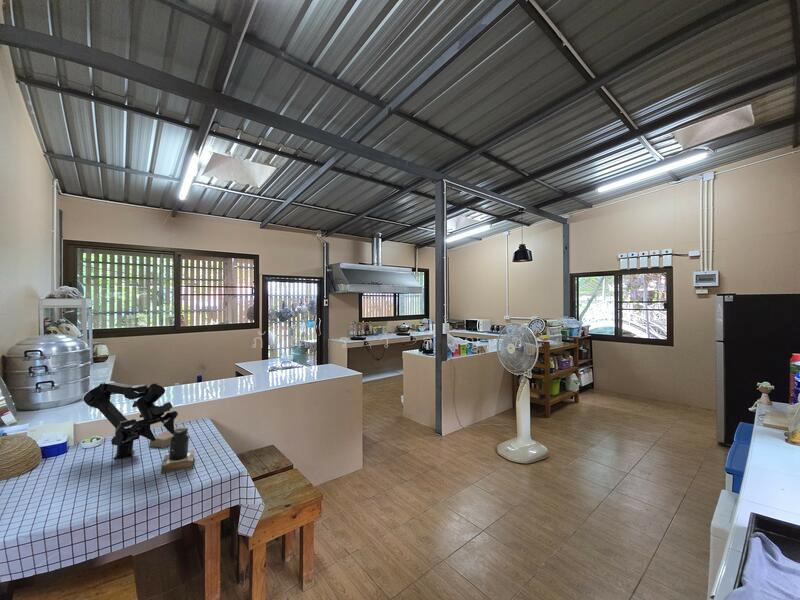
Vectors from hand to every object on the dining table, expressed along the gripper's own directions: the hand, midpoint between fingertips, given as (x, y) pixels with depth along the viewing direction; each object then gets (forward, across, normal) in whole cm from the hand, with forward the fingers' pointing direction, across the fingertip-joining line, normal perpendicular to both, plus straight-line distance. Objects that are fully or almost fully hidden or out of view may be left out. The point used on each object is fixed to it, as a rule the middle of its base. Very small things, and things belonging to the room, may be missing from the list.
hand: (164, 437), depth 141 cm
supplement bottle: (+12, 0, 0) cm, 12 cm away
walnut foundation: (+14, 0, +2) cm, 14 cm away
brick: (-5, +21, +21) cm, 30 cm away
